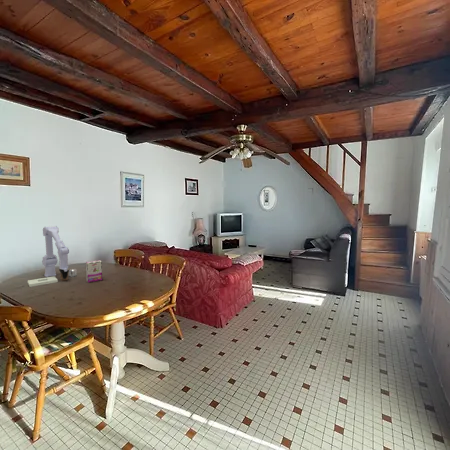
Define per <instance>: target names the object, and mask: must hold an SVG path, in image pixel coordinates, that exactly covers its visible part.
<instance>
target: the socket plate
mask: <svg viewBox="0 0 450 450" xmlns="http://www.w3.org/2000/svg"><path fill="white" fill-rule="evenodd" d="M58 282H59V280H58V278H57V277H56V275H55V276H49V277H42V278H41V277H40V278H35V279H28V280H27V284H28V286H29V287H30V288H32V287H37V286H43V285H47V284H48V285H49V284H56V283H58Z"/></svg>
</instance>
